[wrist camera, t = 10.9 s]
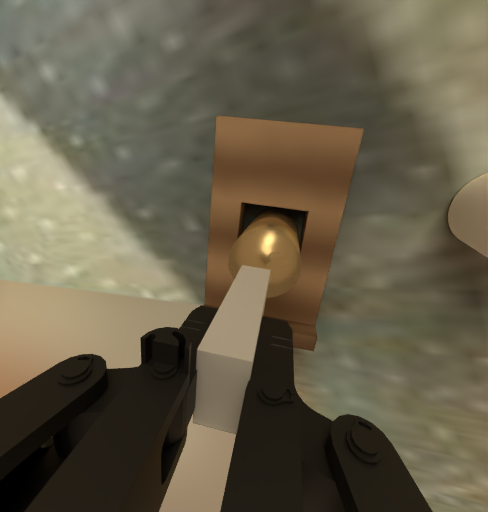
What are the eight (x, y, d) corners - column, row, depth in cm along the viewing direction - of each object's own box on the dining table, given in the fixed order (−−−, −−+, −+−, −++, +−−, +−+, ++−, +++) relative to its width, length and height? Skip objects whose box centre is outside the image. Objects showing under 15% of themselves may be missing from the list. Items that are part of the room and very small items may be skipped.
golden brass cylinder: (253, 206, 25) (231, 223, 16) (301, 213, 24) (308, 235, 15) (247, 251, 27) (225, 290, 17) (292, 258, 26) (294, 303, 17)
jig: (225, 123, 23) (209, 109, 18) (354, 134, 22) (372, 123, 17) (211, 303, 30) (197, 326, 25) (309, 322, 28) (313, 351, 23)
